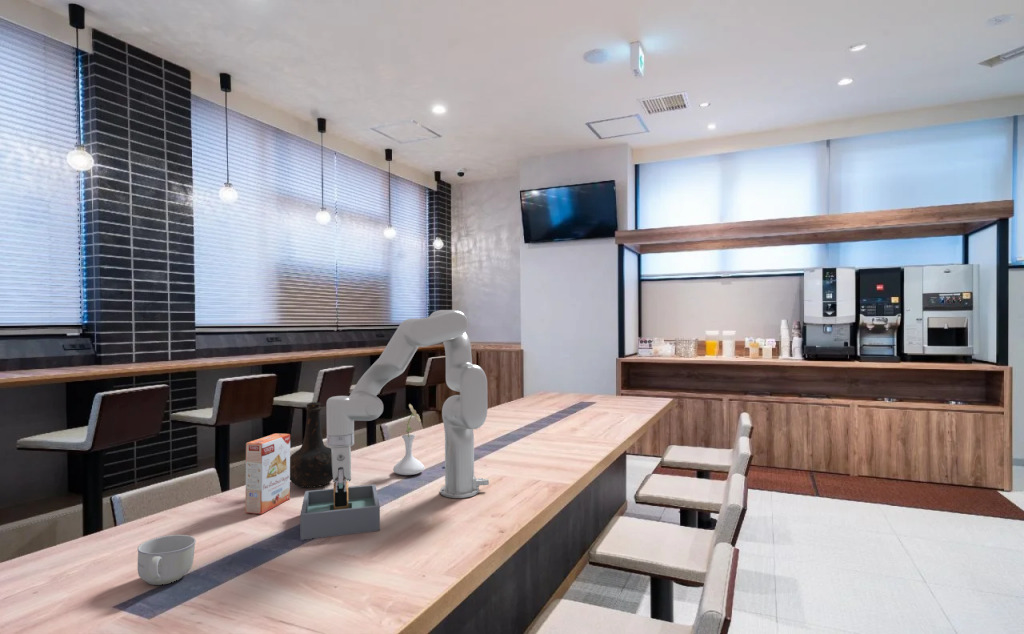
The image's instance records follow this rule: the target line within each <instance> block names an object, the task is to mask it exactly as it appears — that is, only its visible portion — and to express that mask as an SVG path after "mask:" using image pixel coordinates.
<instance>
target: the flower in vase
mask: <svg viewBox="0 0 1024 634" xmlns="http://www.w3.org/2000/svg"><path fill="white" fill-rule="evenodd" d="M408 408H409V409H410V412H411V415H410V417H409V419H408V422H407V424H406V427H407V428H406V429H407V430H405V432H406V433H407V434H403V435H401V438H402V439H403V441H404V445H405V455H404V456H403V457H402V458H401V460H400V461H398V462H397V463H396V464H395V465H394V466H393V469H392V471H393V472H394V473H395V474H397V475H400V476H412V475H417V474H420V473H422V472H423V471H424V470H425V465H424V464H423V463H422V462H421V461H420V460H419V459H417V458H416V457H414V456H413V449H412V448H413V441H414V439H415V437H416V434H413V433H410V431H412V430H413V428H412V427H410V425H409V423H410V420H411V418H412V417H414V418H415V419H416V421H417V422H418V423H420V422H422V420H421V419H420V416H419V415H418V413H417V410H416V409H414V407H413V405H412V404H411V403H409V404H408Z"/></svg>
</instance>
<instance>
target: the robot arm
mask: <svg viewBox="0 0 1024 634" xmlns="http://www.w3.org/2000/svg"><path fill="white" fill-rule="evenodd" d="M468 327H469V320H468V317H467V316H466V315H465V313H464V312H462V311H460V310H457V309H440V310H436V311H433V312H432V313H431V314H430V315H429V316H428V317H422V318H408V319H405V320H403V321H402V322H401V323H400V324H399V325H398V327H397V328H396V330H395V331H394V333H393V335H392V337H391V338H390V340H389V341H388V343H387V345H386V346H385V348H384V349H383V351H382V353H381V354H380V356H379V358H377V359H376V360H375V361H374V363H373V364H372V365H370V366H369V368H368V369H367V370H366V371H365V372H364V374H363V375H362V376H361V377H360V378H359V379H358V381H357V383H356V384H355V386H354V388H353V389H352V390H351V392H350V394H349V396H348V395H336V396H335V395H334V396H331V397H329V398H328V399H327V400H326V447H328V448H331V459H332V474H333V480H332V482H333V483H335V482H336V492H335V507H340V506H346V505H347V491H346V481H348V482H351V481H352V446H354V445H355V422H356V421H362V422H363V421H364V422H365V421H366V422H369V421H373V420H376V419H378V418H379V417H380V416H381V415H382V414H383V412H384V403H383V401H382V399H380V398H379V397H378V396H377V395H378V394H379V392H381V389H383V387H384V386H385V385H387V383H389V382H390V381H391V380H393V379H395V378H397V377H399V376H400V375H402V374H403V373H404V372H405V370H406V369H407V368H408V366H409V364H410V362H411V361H412V359H413V357H414V355H415V353H416V352H417V351H418V349H419V348H421V347H422V348H426V347H429V346H433V345H437V344H441V343H443V345H444V346H443V347H444V351H445V352H444V354H445V383H446V386H447V387H448V388H449V389H450V390H452V391H454V392H458V393H459V394H455V395H451V396H449V397H447V399H446V400H445V401H444V402H443V405H442V408H441V409H442V410H441V415H442V416H441V417H442V422H443V429H444V485H443V486H442V487H441V488H440V491H439V492H440V494H441V496H443V497H446V498H451V499H465V498H466V499H467V498H470V497H474V496H475V495H477V494H479V492H480V488H479V487H480V486H489V483H490V481H489V478H484V477H479V478H476V476H475V434H474V430H478V429H479V428H481V427H482V426H483V425H484V424H485V422H486V420H487V416H488V408H489V407H488V377H487V376H486V373H485V370H484V369H483V368H482V367H481V366H480V365H477V364H473V358H472V357H473V356H472V343H471V340H470V338H469V336H468V334H467V330H468V329H469V328H468ZM343 483H344V484H343ZM338 484H339V485H338Z"/></svg>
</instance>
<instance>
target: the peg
mask: <svg viewBox="0 0 1024 634" xmlns="http://www.w3.org/2000/svg"><path fill="white" fill-rule="evenodd" d="M343 484H344V483H343ZM338 485H339V484H338ZM348 487H349V480H348V481H347V480H346V491H347V505H346V506H340V507H335V492H336V481H335V482H333V488H334V510H339V509H348Z"/></svg>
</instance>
